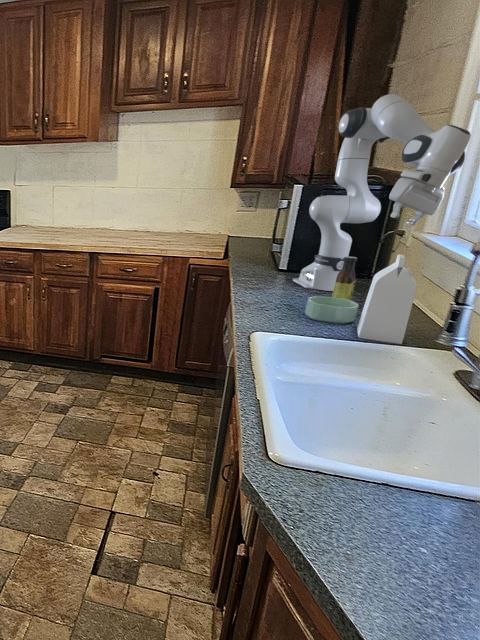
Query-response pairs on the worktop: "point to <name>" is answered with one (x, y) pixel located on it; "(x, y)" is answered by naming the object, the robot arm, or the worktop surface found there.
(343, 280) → the sauce bottle
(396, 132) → the robot arm
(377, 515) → the worktop surface
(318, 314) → the bowl
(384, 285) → the milk
